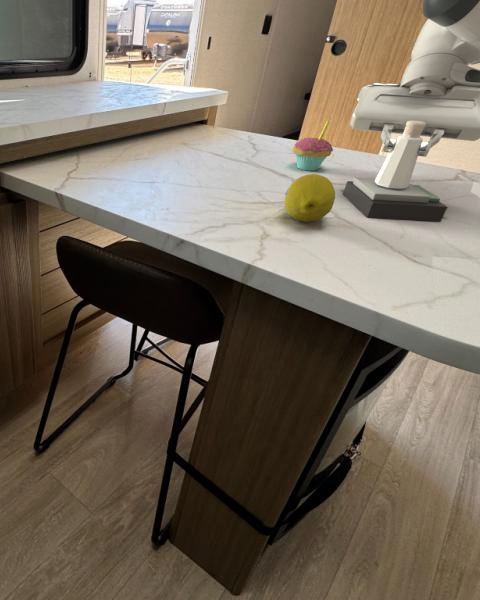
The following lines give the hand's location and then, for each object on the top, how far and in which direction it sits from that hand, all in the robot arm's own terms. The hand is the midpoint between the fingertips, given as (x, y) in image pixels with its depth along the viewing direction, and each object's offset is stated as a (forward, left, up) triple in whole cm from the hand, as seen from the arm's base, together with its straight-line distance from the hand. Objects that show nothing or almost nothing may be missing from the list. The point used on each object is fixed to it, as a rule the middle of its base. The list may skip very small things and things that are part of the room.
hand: (404, 152), depth 74 cm
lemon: (+17, +9, -10) cm, 22 cm away
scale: (-1, -1, -10) cm, 10 cm away
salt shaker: (0, -1, -6) cm, 6 cm away
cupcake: (+7, -27, -10) cm, 29 cm away
